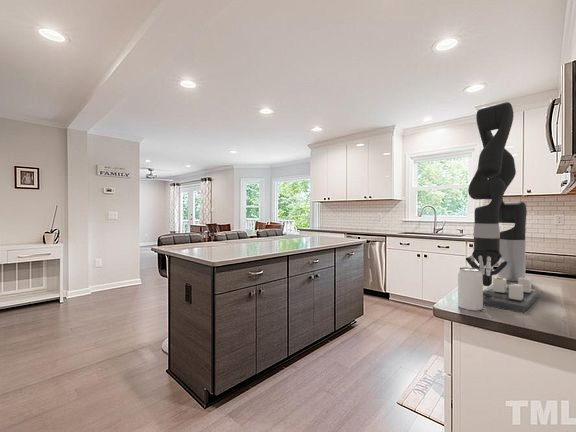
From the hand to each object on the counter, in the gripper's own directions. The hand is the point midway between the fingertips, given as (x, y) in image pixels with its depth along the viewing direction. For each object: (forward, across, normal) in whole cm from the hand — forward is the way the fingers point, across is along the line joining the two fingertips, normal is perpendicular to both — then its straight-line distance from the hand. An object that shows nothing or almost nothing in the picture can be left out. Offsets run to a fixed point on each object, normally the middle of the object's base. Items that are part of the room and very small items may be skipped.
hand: (486, 285), depth 101 cm
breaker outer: (+1, -9, +6) cm, 11 cm away
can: (+4, -1, +18) cm, 18 cm away
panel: (+4, -6, 0) cm, 7 cm away
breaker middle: (+1, -4, 0) cm, 4 cm away
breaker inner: (+1, -9, -6) cm, 11 cm away
